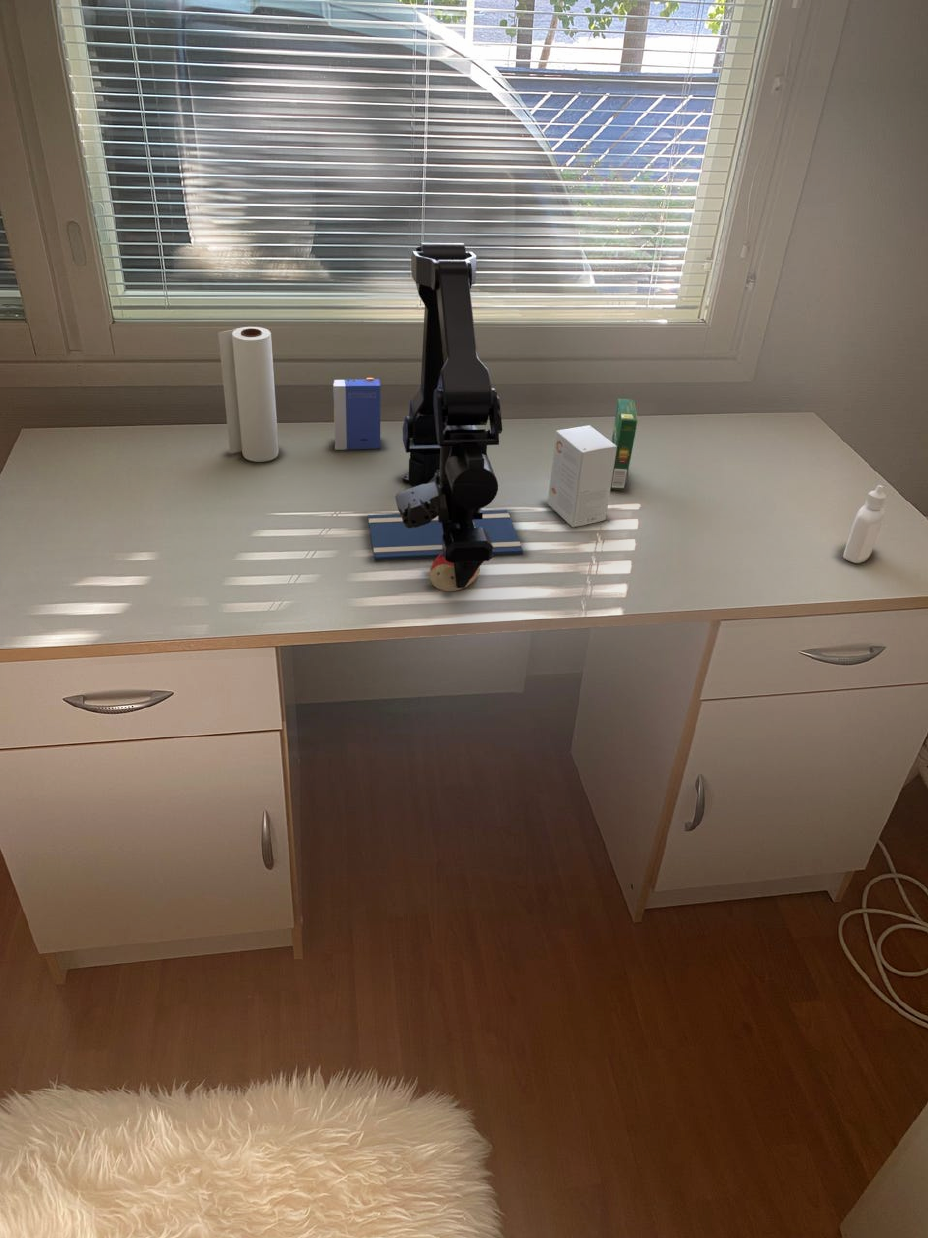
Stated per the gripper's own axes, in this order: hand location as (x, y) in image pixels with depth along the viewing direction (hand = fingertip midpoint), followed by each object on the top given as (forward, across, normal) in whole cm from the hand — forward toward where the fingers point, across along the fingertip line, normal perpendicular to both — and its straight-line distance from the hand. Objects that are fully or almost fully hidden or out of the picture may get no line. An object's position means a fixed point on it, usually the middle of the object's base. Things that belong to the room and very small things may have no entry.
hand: (455, 569), depth 138 cm
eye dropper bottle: (+1, 0, +62) cm, 63 cm away
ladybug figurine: (+1, 0, 0) cm, 1 cm away
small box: (+1, -16, +22) cm, 28 cm away
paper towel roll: (+2, -40, -28) cm, 49 cm away
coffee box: (+1, -26, +32) cm, 41 cm away
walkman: (+2, -42, -11) cm, 43 cm away
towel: (+1, -11, 0) cm, 11 cm away
